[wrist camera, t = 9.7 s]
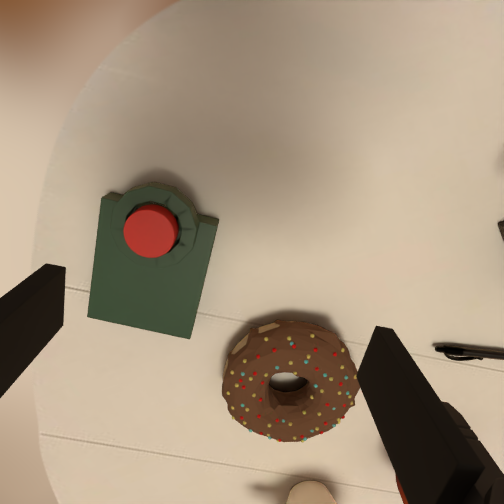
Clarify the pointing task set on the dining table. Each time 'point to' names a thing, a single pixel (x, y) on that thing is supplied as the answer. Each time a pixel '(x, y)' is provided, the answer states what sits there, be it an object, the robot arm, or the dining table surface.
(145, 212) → the button
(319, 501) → the mug
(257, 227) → the dining table surface
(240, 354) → the donut
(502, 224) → the switch bracket
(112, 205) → the button block
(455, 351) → the pen
